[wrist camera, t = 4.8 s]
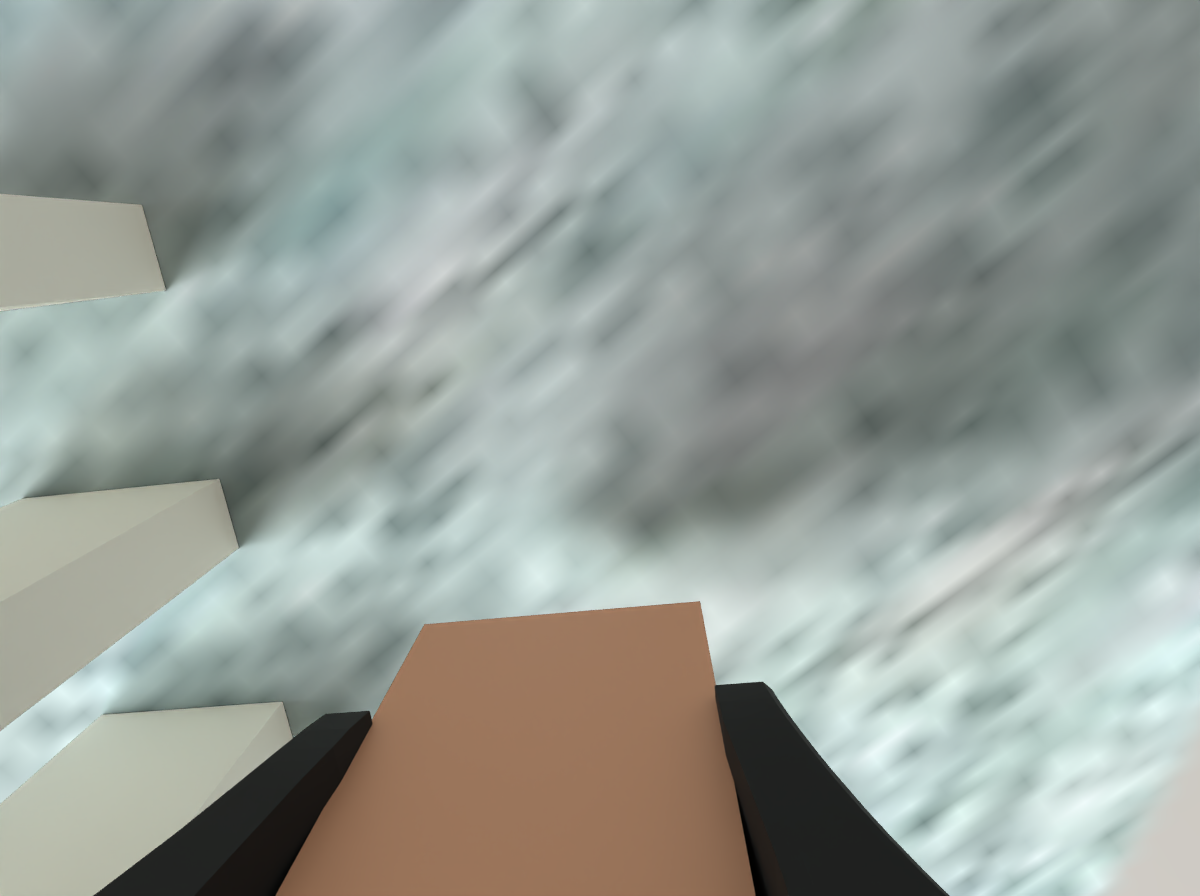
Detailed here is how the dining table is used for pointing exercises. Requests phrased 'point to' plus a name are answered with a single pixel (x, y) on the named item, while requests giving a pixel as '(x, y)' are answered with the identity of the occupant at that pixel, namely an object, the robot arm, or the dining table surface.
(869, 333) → the dining table surface
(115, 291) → the ivory domino
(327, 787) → the robot arm
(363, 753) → the rust domino
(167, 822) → the ivory domino
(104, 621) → the ivory domino
